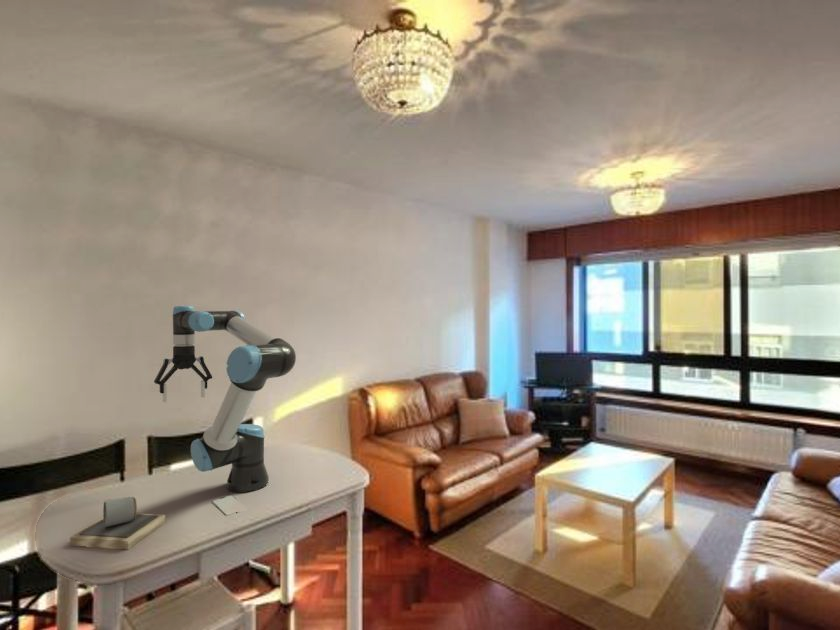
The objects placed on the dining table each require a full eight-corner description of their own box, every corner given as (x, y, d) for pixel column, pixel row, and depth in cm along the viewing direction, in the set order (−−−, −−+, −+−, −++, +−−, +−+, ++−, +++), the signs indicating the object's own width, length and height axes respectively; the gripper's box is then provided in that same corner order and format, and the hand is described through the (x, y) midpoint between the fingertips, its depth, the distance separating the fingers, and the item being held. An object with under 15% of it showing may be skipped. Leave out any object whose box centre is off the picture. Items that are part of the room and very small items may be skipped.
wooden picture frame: (165, 522, 144) (165, 513, 144) (128, 549, 128) (128, 539, 128) (112, 519, 146) (112, 510, 146) (70, 545, 130) (69, 535, 130)
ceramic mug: (137, 523, 138) (137, 498, 137) (105, 531, 132) (105, 505, 132) (132, 511, 146) (131, 487, 146) (101, 519, 140) (101, 494, 140)
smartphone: (226, 515, 149) (210, 500, 160) (226, 517, 149) (210, 502, 160) (248, 509, 154) (232, 494, 165) (248, 510, 154) (232, 496, 165)
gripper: (214, 343, 187) (214, 393, 187) (145, 346, 171) (145, 401, 171) (220, 344, 181) (220, 396, 182) (149, 347, 165) (149, 405, 165)
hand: (184, 399), depth 176 cm, fingers open, 13 cm apart
